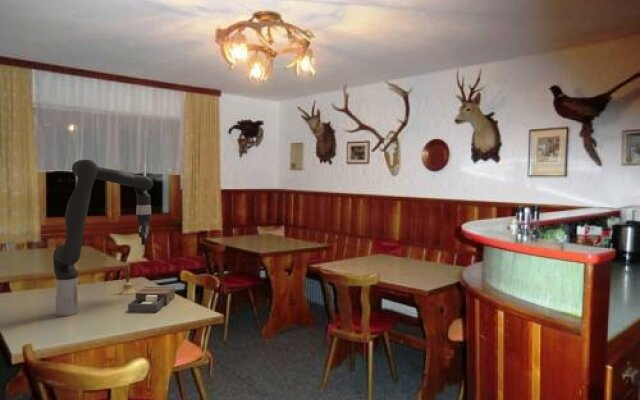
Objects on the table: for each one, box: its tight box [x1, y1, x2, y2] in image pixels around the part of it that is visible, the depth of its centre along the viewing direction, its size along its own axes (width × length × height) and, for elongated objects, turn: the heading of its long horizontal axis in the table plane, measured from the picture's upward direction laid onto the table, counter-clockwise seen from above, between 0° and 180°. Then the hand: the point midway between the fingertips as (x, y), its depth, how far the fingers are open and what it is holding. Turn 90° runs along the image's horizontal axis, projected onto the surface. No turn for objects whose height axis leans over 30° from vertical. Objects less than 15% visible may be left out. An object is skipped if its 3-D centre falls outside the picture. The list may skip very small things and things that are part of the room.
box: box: [127, 297, 166, 314], centre depth 231 cm, size 12×14×4 cm
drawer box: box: [135, 286, 176, 306], centre depth 244 cm, size 14×16×6 cm
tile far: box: [146, 295, 157, 304], centre depth 234 cm, size 5×5×2 cm
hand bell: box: [119, 264, 137, 296], centre depth 259 cm, size 8×8×16 cm
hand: (143, 244), depth 250 cm, fingers closed
